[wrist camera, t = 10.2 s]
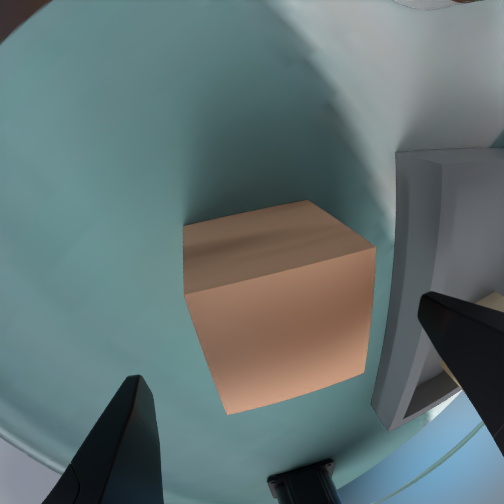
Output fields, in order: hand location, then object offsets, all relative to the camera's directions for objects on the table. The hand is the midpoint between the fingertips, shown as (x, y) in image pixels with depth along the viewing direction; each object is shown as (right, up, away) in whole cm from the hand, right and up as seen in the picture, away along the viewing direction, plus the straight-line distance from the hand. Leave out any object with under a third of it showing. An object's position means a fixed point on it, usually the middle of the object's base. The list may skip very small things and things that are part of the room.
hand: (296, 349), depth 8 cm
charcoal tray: (+14, +1, +8) cm, 17 cm away
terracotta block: (-1, +2, +5) cm, 5 cm away
